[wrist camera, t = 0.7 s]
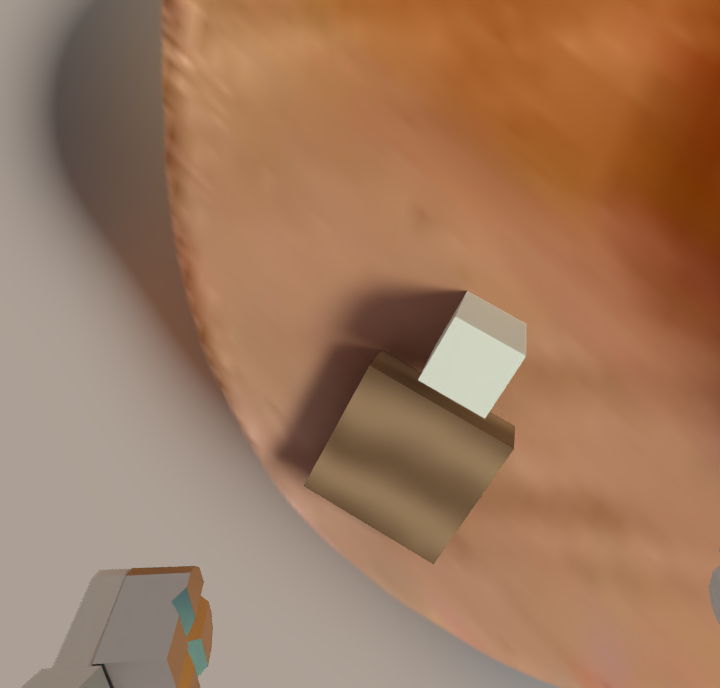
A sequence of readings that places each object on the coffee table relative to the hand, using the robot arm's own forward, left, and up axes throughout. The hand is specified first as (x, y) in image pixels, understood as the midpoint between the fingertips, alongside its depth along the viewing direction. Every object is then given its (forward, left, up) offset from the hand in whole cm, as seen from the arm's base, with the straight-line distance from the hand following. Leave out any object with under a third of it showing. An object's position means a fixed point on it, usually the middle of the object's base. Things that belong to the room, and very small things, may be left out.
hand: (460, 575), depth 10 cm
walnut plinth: (+18, +1, -38) cm, 42 cm away
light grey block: (+7, +1, -38) cm, 38 cm away
